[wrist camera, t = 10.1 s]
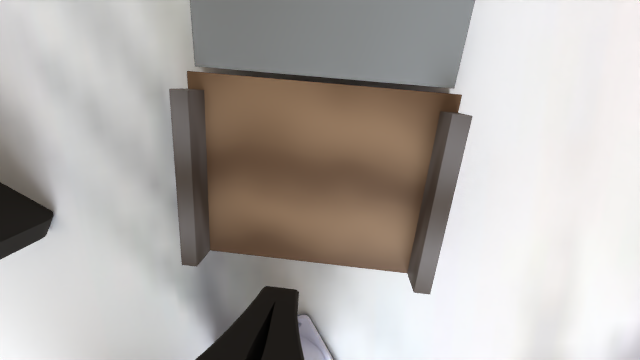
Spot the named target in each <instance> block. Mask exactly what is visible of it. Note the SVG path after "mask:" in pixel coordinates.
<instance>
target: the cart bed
mask: <svg viewBox="0 0 640 360" xmlns="http://www.w3.org/2000/svg"><path fill="white" fill-rule="evenodd" d="M187 78H188V89H169V91H170V105H171V119H172V133H173V147H174V161H175V175H176V189H177V203H178V217H179V231H180V244H181V258H182V265H189V266H198V264H199V263H200V262H201V261H202V260H203V258H204V257H205V256H206V255H207V253H208V252H209V251H210V250H212V251H221V252H229V253H238V254H247V255H255V256H264V257H272V258H281V259H290V260H298V261H307V262H315V263H324V264H333V265H341V266H350V267H358V268H367V269H376V270H384V271H393V272H401V273H407V274H408V277H409V280H410V283H411V285H412V288H413V291H414V292H415V293H423V294H430V292H431V288H432V284H433V279H434V275H435V271H436V267H437V263H438V258H439V254H440V250H441V246H442V242H443V237H444V233H445V229H446V225H447V221H448V216H449V212H450V208H451V204H452V200H453V195H454V191H455V187H456V183H457V179H458V174H459V170H460V166H461V162H462V158H463V153H464V149H465V145H466V141H467V137H468V132H469V128H470V124H471V120H472V116H470V115H465V114H461V113H458V110H459V106H460V101H461V97H462V95H458V94H447V93H435V92H424V91H412V90H401V89H389V88H378V87H366V86H354V85H343V84H331V83H320V82H308V81H297V80H285V79H274V78H262V77H250V76H239V75H227V74H216V73H204V72H193V71H187Z"/></svg>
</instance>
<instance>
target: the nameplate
mask: <svg viewBox="0 0 640 360" xmlns="http://www.w3.org/2000/svg"><path fill="white" fill-rule="evenodd" d="M52 217H53V212H52V211H51V210H49V209H47V208H45V207H44V206H42V205H40V204H38V203H36V202H35V201H33V200H31V199H29V198H27V197H26V196H24V195H22V194H20V193H18V192H17V191H15V190H13V189H11V188H9V187H8V186H6V185H4V184H2V183H0V259H2V258H4V257H6V256H8V255H10V254H12V253H14V252H16V251H18V250H20V249H22V248H24V247H26V246H28V245H30V244H32V243H34V242H36V241H38V240H40V239H42V238H43V237H45V236H46V234H47V232H48V229H49V226H50V223H51V220H52Z"/></svg>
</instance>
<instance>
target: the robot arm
mask: <svg viewBox="0 0 640 360" xmlns="http://www.w3.org/2000/svg"><path fill="white" fill-rule="evenodd" d="M298 297H299V292H298V291H297V290H294V289H286V288H278V287H270V286H265V287H264V288H263V289H262V290H261V292H260V293H259V294H258V296H257V297H256V298H255V299H254V301H253V302H252V303H251V304H250V305H249V307H248V308H247V309H246V310H245V311H244V312H243V314H242V315H241V316H240V317H239V318H238V319H237V320H236V321H235V322H234V323H233V325H232V326H231V327H230V328H229V329H228V330H227V331H226V332H225V333H224V334H223V335H222V336H221V337H220V338H219V339H218V340H217V341H216V342H215V343H213V344H212V345H211V346H210V347H209V348H208V349H207V350H206V351H205V352H204V353H202V354H201V355H200V356H199V357H198V358H197V359H195V360H333V358H332V356H331V354H330V353H329V351H328V349H327V347H326V346H325V344H324V342H323V340H322V339H321V337H320V335H319V333H318V332H317V330H316V328H315V326H314V325H313V323H312V321H311V319H310V318H309V317H308V316H307V315H300V316H297V311H298ZM298 322H300V323H298Z"/></svg>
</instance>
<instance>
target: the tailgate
mask: <svg viewBox="0 0 640 360" xmlns="http://www.w3.org/2000/svg"><path fill="white" fill-rule="evenodd" d="M474 3H475V0H190V7H191V20H192V33H193V46H194V59H195V66H198V67H210V68H221V69H233V70H245V71H256V72H268V73H280V74H291V75H303V76H315V77H326V78H338V79H350V80H361V81H373V82H385V83H397V84H408V85H420V86H432V87H443V88H454V87H455V83H456V78H457V74H458V70H459V66H460V62H461V57H462V53H463V49H464V45H465V41H466V36H467V32H468V28H469V24H470V20H471V15H472V11H473V7H474Z"/></svg>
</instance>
